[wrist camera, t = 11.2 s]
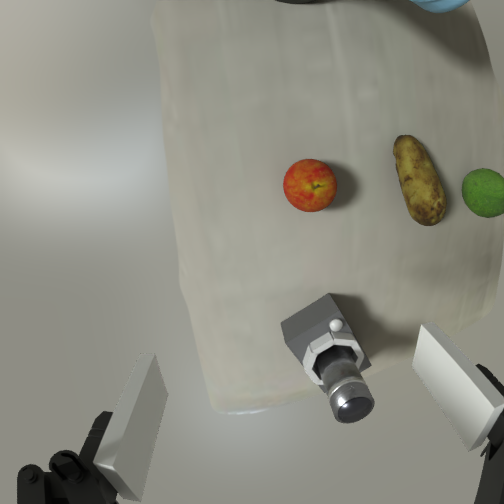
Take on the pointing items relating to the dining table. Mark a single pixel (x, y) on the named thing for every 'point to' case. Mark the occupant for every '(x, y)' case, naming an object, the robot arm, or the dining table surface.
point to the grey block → (320, 336)
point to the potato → (419, 181)
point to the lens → (344, 384)
